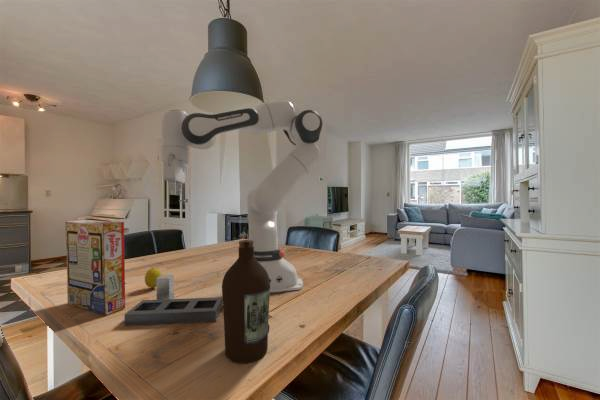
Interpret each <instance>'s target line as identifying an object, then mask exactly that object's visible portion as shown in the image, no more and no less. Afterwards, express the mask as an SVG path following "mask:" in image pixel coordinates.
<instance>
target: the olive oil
mask: <svg viewBox="0 0 600 400" xmlns="http://www.w3.org/2000/svg"><path fill="white" fill-rule="evenodd" d="M238 245H239V246H238V257H237V259H236V260H235V262H234V263H232V265H231V266H230V267H229V268H228V269H227V270H226V272H225V274H224V275H223V278H222V279H223V280H222V283H221V293H222V296H221V297H222V298H223V307H222V311H223V312H222V313H223V329H224V330H223V331H224V353H225V356H226V357H225V358H227V360H228V361H231V362H233V363H237V364H248V363H252V362H253V363H254V362H256V361H259V360H260V359H262V358H264V356H265V355H266V354H267V352H268V344H269V339H268V337H269V333H270V325H269V324H270V323H269V315H270V312H269V311H270V296H271V295H270V294H271V293H270V279H269V276H268V273H267V271H266V270H265V269H264V267H263V266H262V265H261V264H260V263H259V262H258V261H257V260H256V259H255V258H254V247H253V241H252V240H249V239H242V240H239V241H238Z"/></svg>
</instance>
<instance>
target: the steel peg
mask: <svg viewBox="0 0 600 400" xmlns="http://www.w3.org/2000/svg"><path fill="white" fill-rule="evenodd" d="M174 277H175V275H174V274H161V276H159V277H158V278H157V279H156V287H155V288H156V289H155V290H156V300H160V299H175V284H174V283H175V281H174V280H175V278H174Z"/></svg>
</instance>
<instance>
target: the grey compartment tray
mask: <svg viewBox="0 0 600 400" xmlns="http://www.w3.org/2000/svg"><path fill="white" fill-rule="evenodd" d="M222 310H223V298H222V296H218V297H195V298H194V297H193V298H192V297H191V298H189V297H188V298H173V299H160V300H157V299H142V300H141V301H140V302H138V303H137V304H136V305H134V306H133V307H132V308H131V309H129V310H128V311H127V312H126V313H124V326H125V327H127V326H147V325H167V324H168V325H171V324H172V325H173V324H191V323H192V324H193V323H216V322H217V320H218V318H219V315H220V313H221V311H222Z"/></svg>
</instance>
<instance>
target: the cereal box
mask: <svg viewBox="0 0 600 400" xmlns="http://www.w3.org/2000/svg"><path fill="white" fill-rule="evenodd" d="M65 240H66V241H65V242H66V243H65V245H66V247H65V248H66V278H67V279H66V284H67V285H66V286H67V287H66V288H67V289H66V290H67V305H69V306H73V307H77V308H81V309H84V310H88V311H91V312H95V313H99V314H101V315H105V316H107V315H111V314H113V313H115V312H119V311H120V310H123V309H125V308H126V276H125V275H126V273H125V267H126V265H125V222H124V221H111V220H110V221H108V220H107V221H106V220H105V221H104V220H88V219H83V220H82V219H81V220H80V219H79V220H67V221H65Z"/></svg>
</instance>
